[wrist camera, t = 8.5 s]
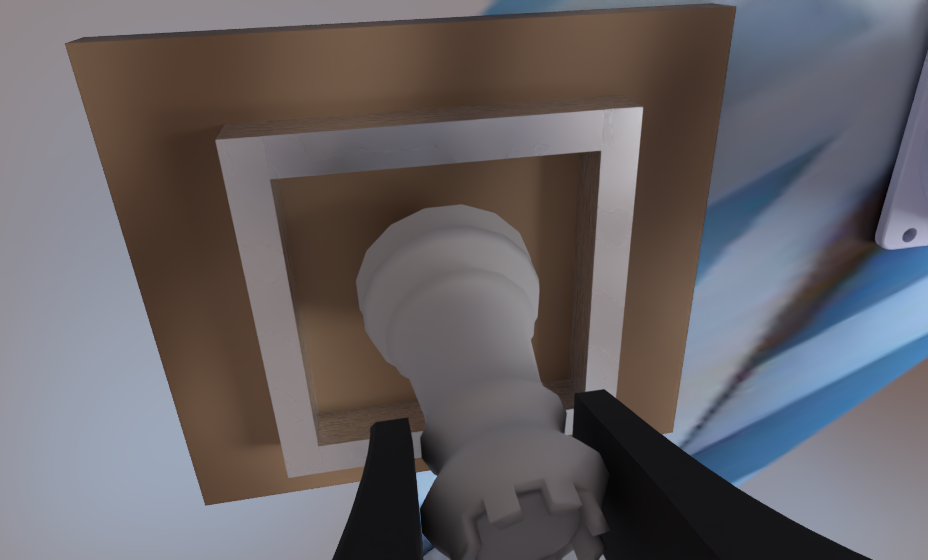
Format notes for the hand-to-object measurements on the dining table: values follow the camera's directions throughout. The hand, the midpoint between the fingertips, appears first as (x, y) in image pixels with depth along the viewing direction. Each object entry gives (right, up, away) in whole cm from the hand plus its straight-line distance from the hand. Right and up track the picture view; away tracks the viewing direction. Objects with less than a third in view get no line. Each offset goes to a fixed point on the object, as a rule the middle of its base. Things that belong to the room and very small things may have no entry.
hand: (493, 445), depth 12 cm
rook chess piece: (-1, +3, +4) cm, 6 cm away
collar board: (-1, +4, +7) cm, 8 cm away
